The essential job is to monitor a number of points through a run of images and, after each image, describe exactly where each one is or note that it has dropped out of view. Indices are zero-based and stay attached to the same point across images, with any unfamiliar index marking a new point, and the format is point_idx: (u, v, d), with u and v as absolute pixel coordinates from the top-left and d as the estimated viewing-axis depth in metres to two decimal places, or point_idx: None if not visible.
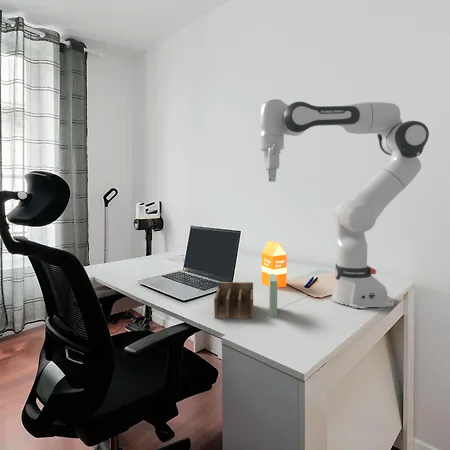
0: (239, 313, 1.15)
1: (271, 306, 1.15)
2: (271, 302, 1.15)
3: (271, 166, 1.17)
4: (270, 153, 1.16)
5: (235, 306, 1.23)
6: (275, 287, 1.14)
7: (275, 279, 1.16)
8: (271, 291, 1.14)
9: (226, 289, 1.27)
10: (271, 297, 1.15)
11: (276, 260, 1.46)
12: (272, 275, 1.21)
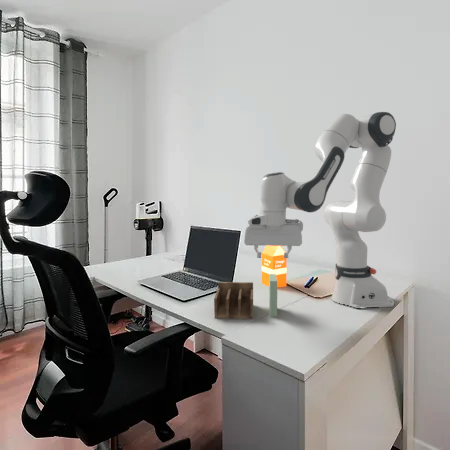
0: (239, 313, 1.15)
1: (271, 306, 1.15)
2: (271, 302, 1.15)
3: (301, 243, 1.15)
4: (300, 231, 1.14)
5: (235, 306, 1.23)
6: (275, 287, 1.14)
7: (275, 279, 1.16)
8: (271, 291, 1.14)
9: (226, 289, 1.27)
10: (271, 297, 1.15)
11: (276, 260, 1.46)
12: (272, 275, 1.21)
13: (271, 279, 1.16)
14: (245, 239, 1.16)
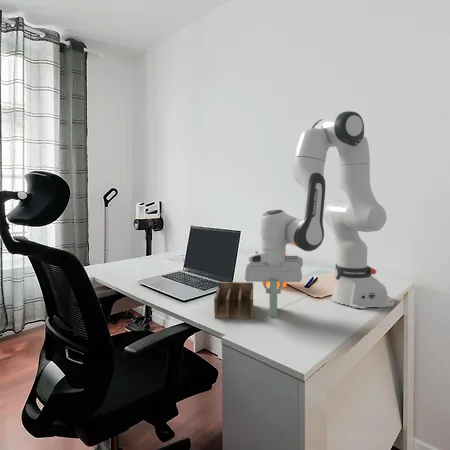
0: (239, 313, 1.15)
1: (271, 306, 1.15)
2: (271, 302, 1.15)
3: (301, 279, 1.17)
4: (300, 267, 1.16)
5: (235, 306, 1.23)
6: (275, 287, 1.14)
7: (275, 279, 1.16)
8: (271, 291, 1.14)
9: (226, 289, 1.27)
10: (271, 297, 1.15)
11: None
12: None
13: (271, 279, 1.16)
14: (246, 276, 1.17)
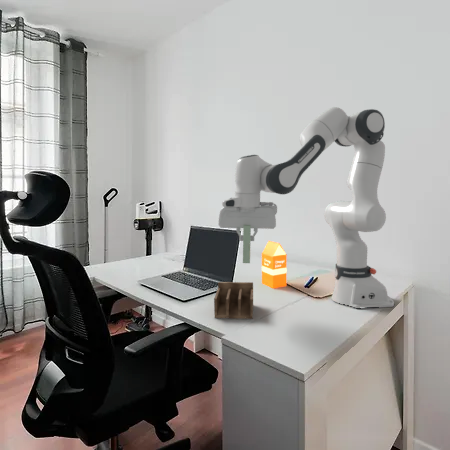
0: (239, 313, 1.15)
1: (244, 252, 1.13)
2: (244, 248, 1.13)
3: (275, 226, 1.15)
4: (274, 213, 1.14)
5: (235, 306, 1.23)
6: (248, 232, 1.12)
7: (249, 225, 1.14)
8: (244, 236, 1.13)
9: (226, 289, 1.27)
10: (244, 242, 1.13)
11: (276, 260, 1.46)
12: None
13: (245, 225, 1.14)
14: (219, 221, 1.15)
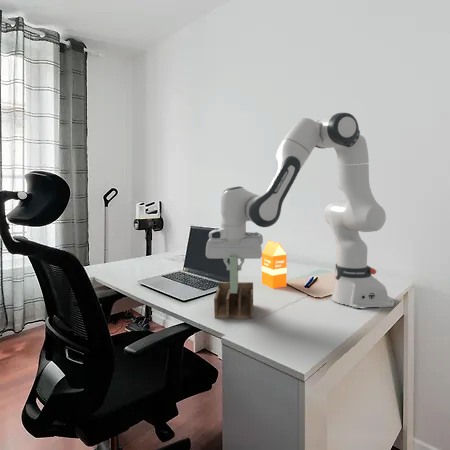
0: (239, 313, 1.15)
1: (231, 282, 1.15)
2: (231, 278, 1.15)
3: (261, 256, 1.17)
4: (260, 244, 1.16)
5: (235, 306, 1.23)
6: (234, 263, 1.14)
7: (235, 255, 1.16)
8: (230, 267, 1.15)
9: (226, 289, 1.27)
10: (231, 273, 1.15)
11: (276, 260, 1.46)
12: None
13: (231, 255, 1.16)
14: (206, 252, 1.18)
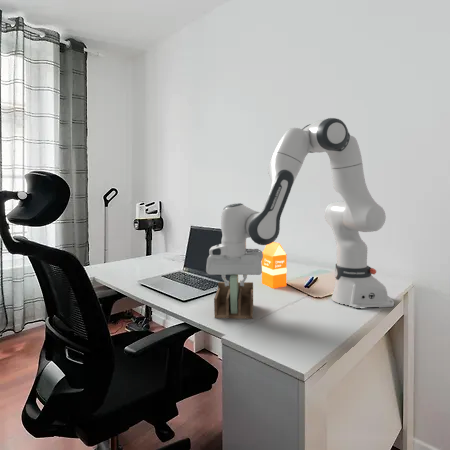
0: (239, 313, 1.15)
1: (231, 303, 1.16)
2: (231, 299, 1.16)
3: (261, 272, 1.18)
4: (260, 260, 1.17)
5: None
6: (235, 284, 1.15)
7: (235, 276, 1.17)
8: (231, 288, 1.16)
9: (226, 289, 1.27)
10: (231, 294, 1.16)
11: (276, 260, 1.46)
12: None
13: (231, 276, 1.17)
14: (207, 269, 1.18)
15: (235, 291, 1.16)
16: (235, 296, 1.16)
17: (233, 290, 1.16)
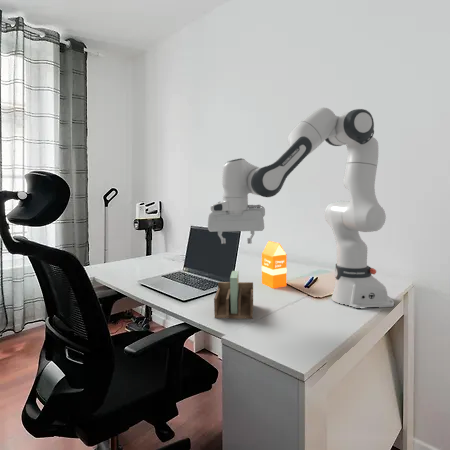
0: (239, 313, 1.15)
1: (231, 303, 1.16)
2: (231, 299, 1.16)
3: (263, 228, 1.16)
4: (262, 216, 1.15)
5: None
6: (235, 284, 1.15)
7: (235, 276, 1.17)
8: (231, 288, 1.16)
9: (226, 289, 1.27)
10: (231, 294, 1.16)
11: (276, 260, 1.46)
12: (234, 272, 1.22)
13: (232, 276, 1.17)
14: (208, 225, 1.17)
15: (235, 291, 1.16)
16: (235, 296, 1.16)
17: (233, 290, 1.16)
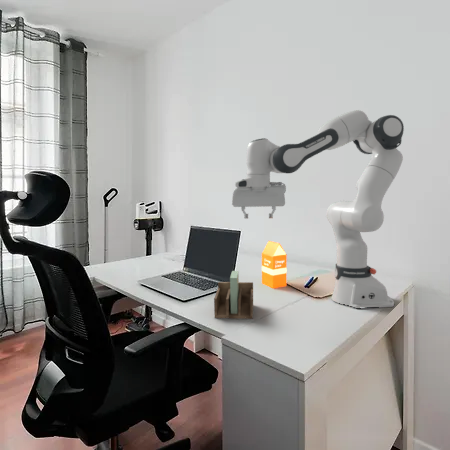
0: (239, 313, 1.15)
1: (231, 303, 1.16)
2: (231, 299, 1.16)
3: (284, 204, 1.25)
4: (283, 192, 1.24)
5: None
6: (235, 284, 1.15)
7: (235, 276, 1.17)
8: (231, 288, 1.16)
9: (226, 289, 1.27)
10: (231, 294, 1.16)
11: (276, 260, 1.46)
12: (234, 272, 1.22)
13: (232, 276, 1.17)
14: (233, 201, 1.26)
15: (235, 291, 1.16)
16: (235, 296, 1.16)
17: (233, 290, 1.16)
